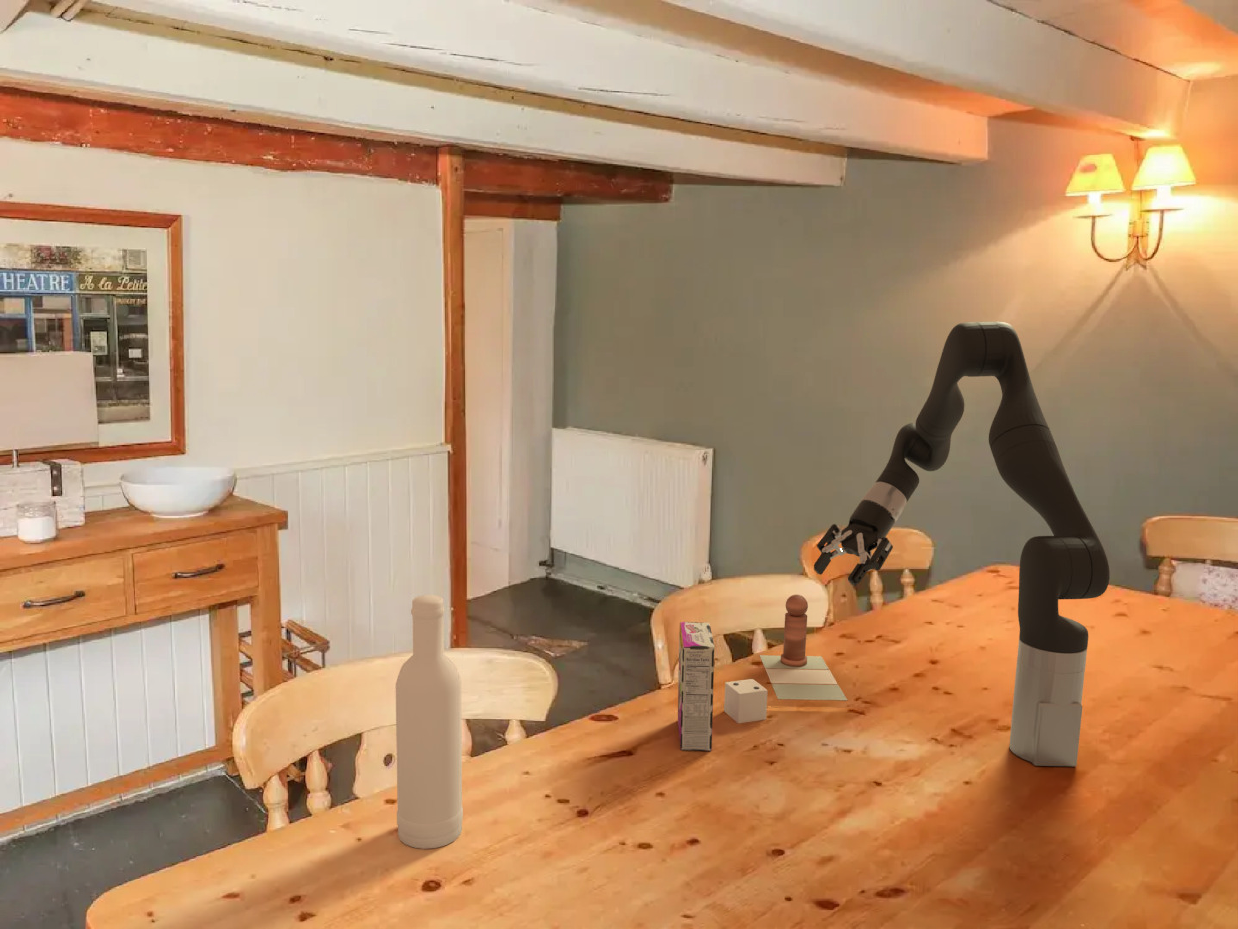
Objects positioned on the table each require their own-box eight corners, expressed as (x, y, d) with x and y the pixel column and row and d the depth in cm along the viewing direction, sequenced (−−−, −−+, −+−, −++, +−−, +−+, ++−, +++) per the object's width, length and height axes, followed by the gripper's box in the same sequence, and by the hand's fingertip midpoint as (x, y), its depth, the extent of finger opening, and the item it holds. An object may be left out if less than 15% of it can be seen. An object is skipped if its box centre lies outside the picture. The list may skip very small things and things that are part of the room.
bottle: (434, 809, 127) (432, 585, 122) (476, 831, 122) (475, 598, 117) (383, 834, 121) (379, 599, 116) (425, 858, 116) (422, 613, 111)
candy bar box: (675, 720, 156) (678, 620, 153) (707, 721, 156) (710, 621, 153) (678, 751, 145) (681, 645, 142) (712, 752, 145) (716, 646, 142)
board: (852, 705, 163) (852, 702, 163) (774, 704, 163) (774, 700, 163) (824, 658, 185) (824, 655, 184) (755, 657, 184) (755, 653, 184)
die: (766, 720, 157) (767, 689, 156) (738, 724, 155) (739, 693, 154) (751, 707, 161) (752, 678, 161) (724, 711, 160) (725, 682, 159)
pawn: (809, 667, 178) (813, 599, 176) (782, 666, 178) (786, 598, 176) (804, 657, 183) (807, 591, 181) (778, 657, 183) (781, 591, 181)
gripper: (841, 492, 192) (796, 557, 187) (900, 505, 181) (854, 574, 176) (858, 516, 196) (814, 580, 191) (916, 530, 185) (872, 598, 180)
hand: (833, 577), depth 184 cm, fingers open, 8 cm apart
